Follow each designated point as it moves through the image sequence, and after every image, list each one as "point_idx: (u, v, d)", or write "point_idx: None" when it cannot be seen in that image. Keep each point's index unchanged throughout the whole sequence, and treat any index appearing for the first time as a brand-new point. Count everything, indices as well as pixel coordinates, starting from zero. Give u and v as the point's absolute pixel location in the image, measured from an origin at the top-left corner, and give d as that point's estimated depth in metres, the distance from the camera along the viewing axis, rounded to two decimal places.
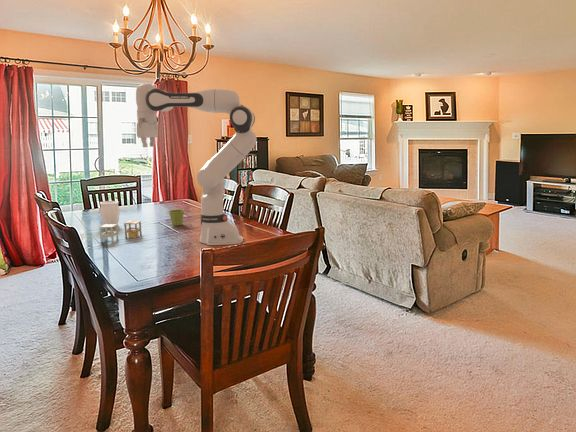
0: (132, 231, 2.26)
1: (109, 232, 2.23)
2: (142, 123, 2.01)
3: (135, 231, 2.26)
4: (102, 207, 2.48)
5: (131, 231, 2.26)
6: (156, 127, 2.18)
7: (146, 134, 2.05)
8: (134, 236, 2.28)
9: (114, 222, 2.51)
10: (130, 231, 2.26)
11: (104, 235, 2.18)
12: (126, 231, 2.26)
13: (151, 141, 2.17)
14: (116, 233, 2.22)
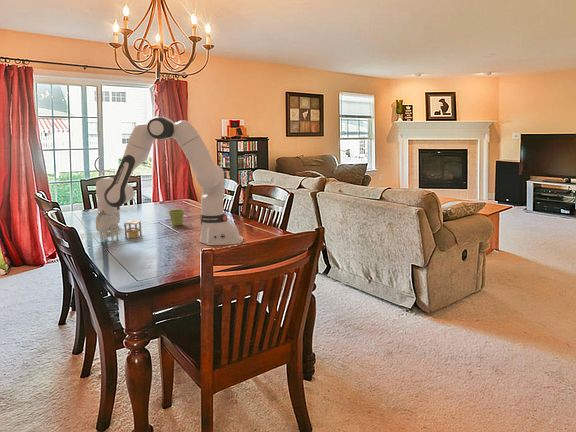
0: (132, 231, 2.26)
1: (109, 232, 2.23)
2: (101, 217, 2.10)
3: (135, 231, 2.26)
4: None
5: (131, 231, 2.26)
6: (117, 214, 2.27)
7: (105, 226, 2.13)
8: (134, 236, 2.28)
9: None
10: (130, 231, 2.26)
11: None
12: (126, 231, 2.26)
13: None
14: (116, 233, 2.22)
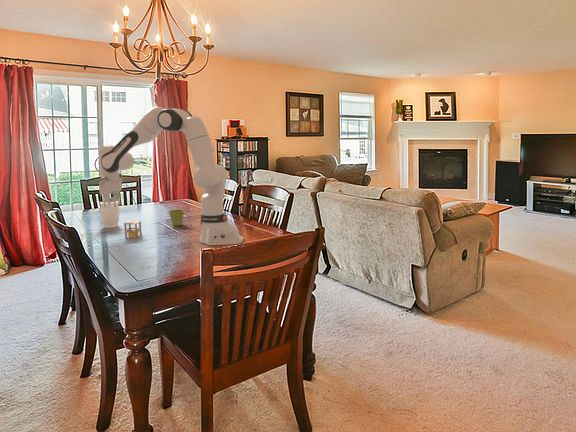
0: (132, 231, 2.26)
1: (112, 198, 2.35)
2: (104, 182, 2.22)
3: (135, 231, 2.26)
4: (102, 207, 2.48)
5: (131, 231, 2.26)
6: (119, 182, 2.39)
7: (108, 191, 2.25)
8: (134, 236, 2.28)
9: (114, 222, 2.51)
10: (130, 231, 2.26)
11: None
12: (126, 231, 2.26)
13: None
14: (118, 199, 2.34)
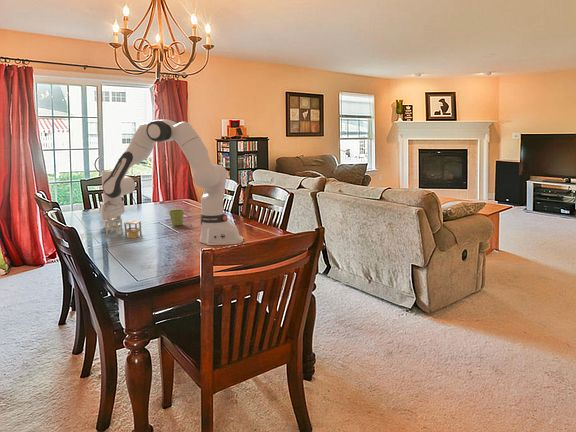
0: (132, 231, 2.26)
1: (114, 226, 2.38)
2: (107, 207, 2.24)
3: (135, 231, 2.26)
4: None
5: (131, 231, 2.26)
6: (122, 205, 2.41)
7: (111, 216, 2.27)
8: (134, 236, 2.28)
9: (114, 222, 2.51)
10: (130, 231, 2.26)
11: (109, 228, 2.33)
12: (126, 231, 2.26)
13: None
14: (121, 227, 2.37)
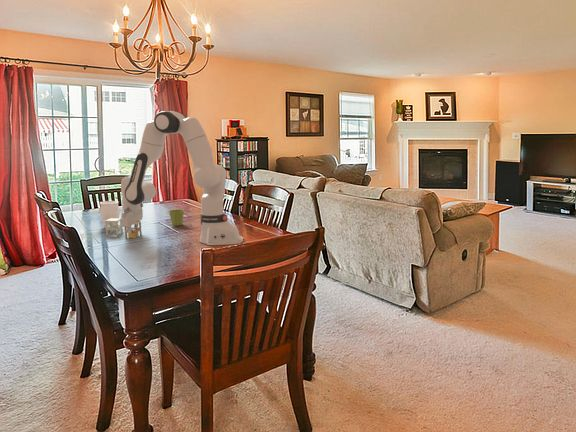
0: (132, 231, 2.26)
1: (114, 226, 2.38)
2: (126, 214, 2.19)
3: (135, 231, 2.26)
4: (102, 207, 2.48)
5: None
6: (140, 211, 2.35)
7: (130, 223, 2.22)
8: (134, 236, 2.28)
9: (114, 222, 2.51)
10: None
11: (109, 228, 2.33)
12: (126, 231, 2.26)
13: None
14: (121, 227, 2.37)
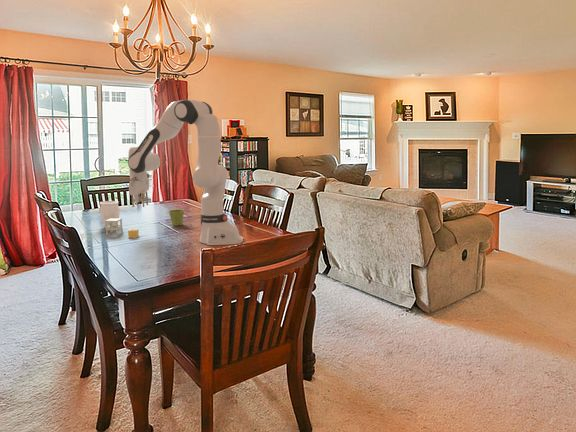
0: (139, 200, 2.33)
1: (114, 226, 2.38)
2: (134, 182, 2.25)
3: (142, 200, 2.33)
4: (102, 207, 2.48)
5: None
6: (147, 182, 2.42)
7: (137, 191, 2.29)
8: (134, 236, 2.28)
9: (114, 222, 2.51)
10: None
11: (109, 228, 2.33)
12: (133, 200, 2.33)
13: None
14: (121, 227, 2.37)
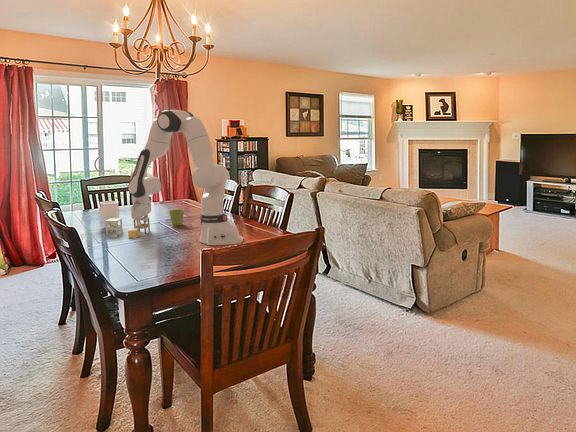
0: (141, 227, 2.36)
1: (114, 226, 2.38)
2: (136, 206, 2.28)
3: (144, 227, 2.36)
4: (102, 207, 2.48)
5: (140, 227, 2.36)
6: (149, 204, 2.45)
7: (140, 215, 2.31)
8: (134, 236, 2.28)
9: (114, 222, 2.51)
10: (139, 227, 2.36)
11: (109, 228, 2.33)
12: (135, 227, 2.36)
13: None
14: (121, 227, 2.37)
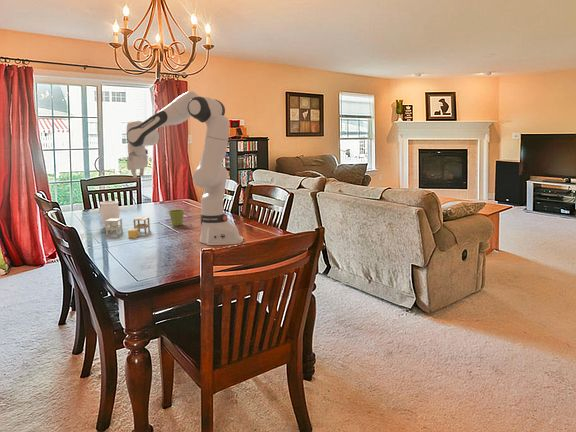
0: (141, 227, 2.36)
1: (114, 226, 2.38)
2: (132, 157, 2.23)
3: (144, 227, 2.36)
4: (102, 207, 2.48)
5: (140, 227, 2.36)
6: (145, 158, 2.40)
7: (136, 166, 2.26)
8: (134, 236, 2.28)
9: (114, 222, 2.51)
10: (139, 227, 2.36)
11: (109, 228, 2.33)
12: (135, 227, 2.36)
13: (141, 171, 2.39)
14: (121, 227, 2.37)
